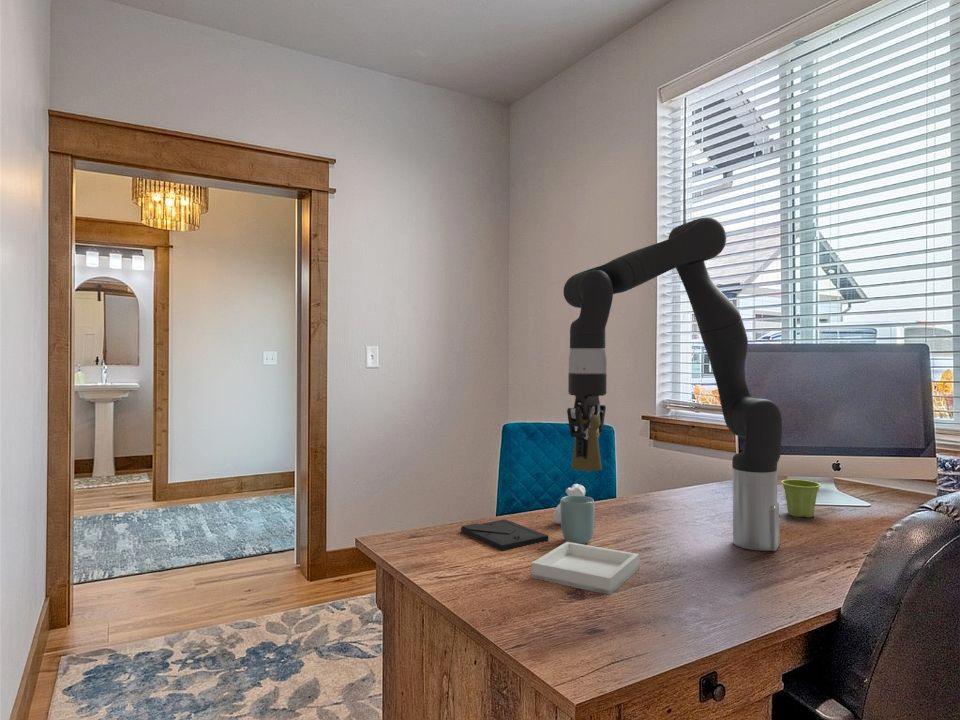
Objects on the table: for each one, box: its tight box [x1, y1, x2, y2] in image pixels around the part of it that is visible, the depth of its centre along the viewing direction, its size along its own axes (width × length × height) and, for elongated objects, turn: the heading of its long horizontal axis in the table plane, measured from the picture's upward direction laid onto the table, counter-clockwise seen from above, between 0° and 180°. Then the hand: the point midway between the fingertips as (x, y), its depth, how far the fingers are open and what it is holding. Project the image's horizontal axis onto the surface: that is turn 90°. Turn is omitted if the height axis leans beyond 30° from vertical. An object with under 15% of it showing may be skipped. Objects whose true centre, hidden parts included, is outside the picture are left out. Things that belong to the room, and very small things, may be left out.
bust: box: [553, 483, 586, 524], centre depth 156 cm, size 12×8×11 cm
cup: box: [559, 495, 595, 545], centre depth 140 cm, size 8×8×10 cm
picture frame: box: [460, 519, 549, 552], centre depth 145 cm, size 13×2×18 cm
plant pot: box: [781, 479, 822, 519], centre depth 163 cm, size 9×9×9 cm
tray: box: [531, 541, 641, 596], centre depth 119 cm, size 16×16×3 cm
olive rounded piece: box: [570, 414, 603, 472], centre depth 121 cm, size 6×6×11 cm
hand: (586, 456), depth 121 cm, fingers closed on olive rounded piece, 4 cm apart
